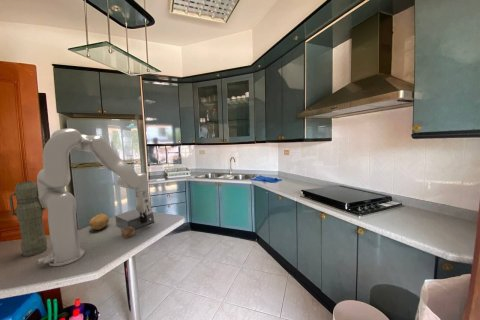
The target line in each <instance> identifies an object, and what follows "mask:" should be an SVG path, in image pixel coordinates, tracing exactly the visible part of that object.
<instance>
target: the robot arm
mask: <svg viewBox="0 0 480 320" xmlns="http://www.w3.org/2000/svg"><path fill="white" fill-rule="evenodd" d="M72 150H73V151H75V150H76V151H81V152H87V153H92V155H93V156H94V157H95V158H96V159H97V161H98V162H99V163H100V164H101V165H102V166H103V167H104V168H105V169H107V170H108V171H111V172H112V173H114V174H116V175H117V176H119V177H118V178H117V180H116V183H117V185H118V187H121V188H123V189H124V188H125V189H129V190H134V191H133V192H134V198H135V199H134V203H135V210H137V211H138V212H139V214H140V220H141V223H142V224H143V223H146V222H147V215H148V214H149V213H148V211H149V212H152V206H151V198H150V196H149V185H148V175H147V173H146V172H136V171H135V169H133V168H132V167H131V166H130V165H129V164H128V163H126V161H124V160H123V159H122V158H120V156H119V155H118V153H117V152H116V151H115V150H114V148H112V146H111V145H110V143H108V141H107V140H106V139H105V138H104V137H103V136H101V135H97V134H96V135H94V134H91V135H87V134H82V133H81V132H80V131H79V130H78V129H75V128H71V127H70V128H69V127H68V128H62V129H57V130H55V131H54V132H52V134H51V137H50V138H49V139H48V140H47V142H46V143H45V145H44V147H43V150H42V165H43V166H42V167H43V168H42V169H40V170H39V172H38V173H37V176H36V177H37V178H36V185H37V187H38V195H39V197H38V199H39V201H40V204H41V205H42V208H43V207H44V208H46V209H45V210H47V213H48V215H47V222H48V223H47V224H48V230H49V238H50V245H51V251H50V253H49V254H48V255H47V256H44V257H41V258H38V259H37V262H38V265H40V264H42V263H43V264H44V265H45V264H48V265H49V266H51V267H60V266H65V265H69V264H72V263H73V262H76V261H78V260H80V259H81V258H83V256H84V255H85V249H82V248H80V239H79V231H78V222H77V212H76V211H77V208H76V207H77V201H76V198H75V196H74V195H73V193H71V192H68V191H66V187H67V186H68V185H69V184H70V182H71V169H70V152H71V151H72Z"/></svg>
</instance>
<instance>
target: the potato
mask: <svg viewBox="0 0 480 320" xmlns="http://www.w3.org/2000/svg"><path fill="white" fill-rule="evenodd" d="M109 219H110V218H109V216H108V215H107V214H105V213H98V214H97V215H95V216H93V217H92V218H91V219H90V220H89V222H88V225H89V227H90V228H91V229H93V230H97V231H99V230H101V229H103V228H105V227H106V226H107V225H108V223H109Z"/></svg>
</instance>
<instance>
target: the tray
mask: <svg viewBox="0 0 480 320" xmlns="http://www.w3.org/2000/svg"><path fill="white" fill-rule="evenodd" d="M154 217H155V215H154V214H153V215H150V216H147V222H146V223H143V224H142V223H141V220H140V219H139V220H136V221H133V222H130V223H129V226H131V227H133V228H135V230H136V229H139V228H142V227H145V226H147V225H150V224H152V223H154V222H155V219H154Z"/></svg>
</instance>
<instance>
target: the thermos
mask: <svg viewBox="0 0 480 320" xmlns="http://www.w3.org/2000/svg"><path fill="white" fill-rule="evenodd" d="M13 196H15V200H16V208H15V207H14V201H13ZM8 199H9V204H10V211H11V215H12V216H15V217H16V220H17V221H18V224H19V231H20V235H21V236H20V237H21V242H20V249H21V251H22V256H23V257H31V256H35V255H39V254H41V253H43V252H46V251H47V250H48V245H47V244H48V242H47V241H48V239H47V236H46V234H45V229H44V223H43V216H44V214H43V213H44V211H45V210H47V209H46V208H44V207H43V206H42V205H41V204H40V201H39V195H38V186H37V183H36V182H35V181H33V180H31V181H29V180H28V181H21V182H19V183H16V186H15V188H14V192H12V193H11V194H10V196H9V198H8Z"/></svg>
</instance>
